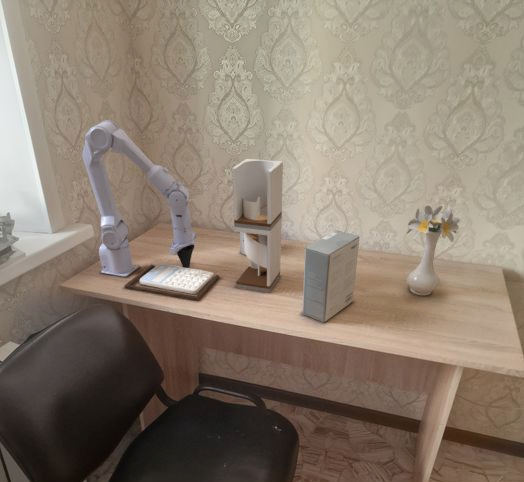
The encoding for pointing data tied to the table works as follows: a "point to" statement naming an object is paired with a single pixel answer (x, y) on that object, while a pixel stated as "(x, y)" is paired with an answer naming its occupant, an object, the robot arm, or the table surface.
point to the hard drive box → (329, 275)
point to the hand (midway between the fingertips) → (186, 267)
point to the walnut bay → (172, 294)
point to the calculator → (177, 278)
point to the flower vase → (430, 246)
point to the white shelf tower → (259, 220)
